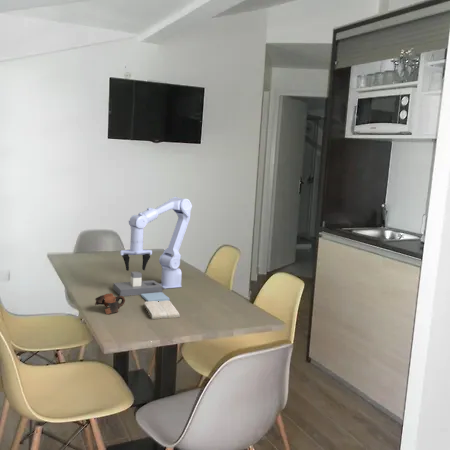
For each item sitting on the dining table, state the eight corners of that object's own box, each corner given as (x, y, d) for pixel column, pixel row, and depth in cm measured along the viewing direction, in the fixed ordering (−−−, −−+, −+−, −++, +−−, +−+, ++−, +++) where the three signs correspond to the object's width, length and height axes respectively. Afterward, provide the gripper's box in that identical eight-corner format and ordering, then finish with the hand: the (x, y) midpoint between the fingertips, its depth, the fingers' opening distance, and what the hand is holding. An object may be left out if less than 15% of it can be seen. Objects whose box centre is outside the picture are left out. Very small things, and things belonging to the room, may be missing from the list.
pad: (161, 294, 229) (161, 292, 229) (169, 300, 220) (169, 298, 220) (141, 296, 224) (141, 293, 224) (148, 302, 216) (148, 300, 216)
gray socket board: (153, 286, 242) (153, 280, 241) (162, 292, 231) (162, 286, 231) (113, 289, 232) (113, 282, 232) (120, 296, 222) (120, 289, 222)
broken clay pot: (99, 317, 195) (93, 297, 197) (98, 319, 204) (93, 300, 206) (128, 307, 200) (122, 288, 201) (126, 310, 208) (121, 292, 210)
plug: (138, 289, 234) (139, 271, 233) (141, 292, 231) (141, 273, 229) (130, 290, 232) (130, 271, 231) (132, 292, 229) (133, 273, 227)
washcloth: (169, 305, 215) (169, 298, 215) (180, 319, 199) (181, 311, 198) (142, 306, 211) (142, 299, 211) (151, 321, 195) (151, 313, 194)
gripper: (123, 243, 220) (121, 272, 222) (154, 242, 226) (153, 271, 228) (119, 240, 227) (118, 268, 228) (150, 239, 233) (148, 267, 235)
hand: (135, 270), depth 229 cm, fingers open, 7 cm apart
